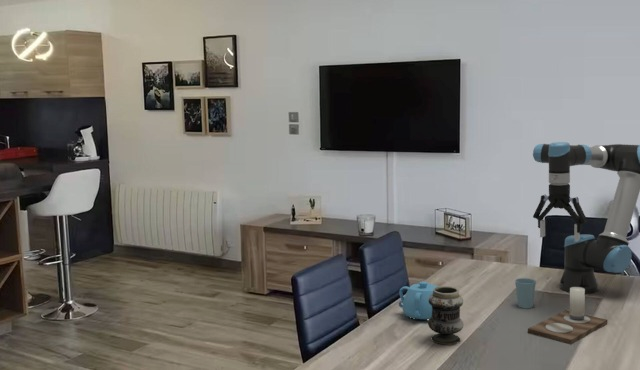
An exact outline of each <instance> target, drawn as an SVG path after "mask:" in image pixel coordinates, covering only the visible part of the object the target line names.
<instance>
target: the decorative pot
mask: <svg viewBox="0 0 640 370" xmlns="http://www.w3.org/2000/svg"><path fill="white" fill-rule="evenodd" d="M436 287H438V285H436V284H431V283H429V282H427V281H424V280H423V281H422V280H421V281H419V282H418V283H413V284H412V285H410V286H408V285H407V286H406V285H405V286H402V287H401V288H400V289H399V291H398V294H399V297H400V300H399V302H398V307H400V308H401V309H402V312H403V313H404V315H405V316H406V317H409V318H410V317H411V318H416V319H415V320H426V319H430V318H431V317H432V306H431V305H430V304H429V297H430V296H431V295H432V294H433V290H434V288H436ZM403 290H407V291H406V292H405V296H404V294H403Z"/></svg>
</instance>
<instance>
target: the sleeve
mask: <svg viewBox="0 0 640 370" xmlns="http://www.w3.org/2000/svg"><path fill="white" fill-rule="evenodd" d="M585 294H586V293H585V289H584V288H581V287H571V288H570V292H569V311H570V319H572V320H577V321H581V320H584V315H585V305H586V304H585V303H586V299H585Z"/></svg>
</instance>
